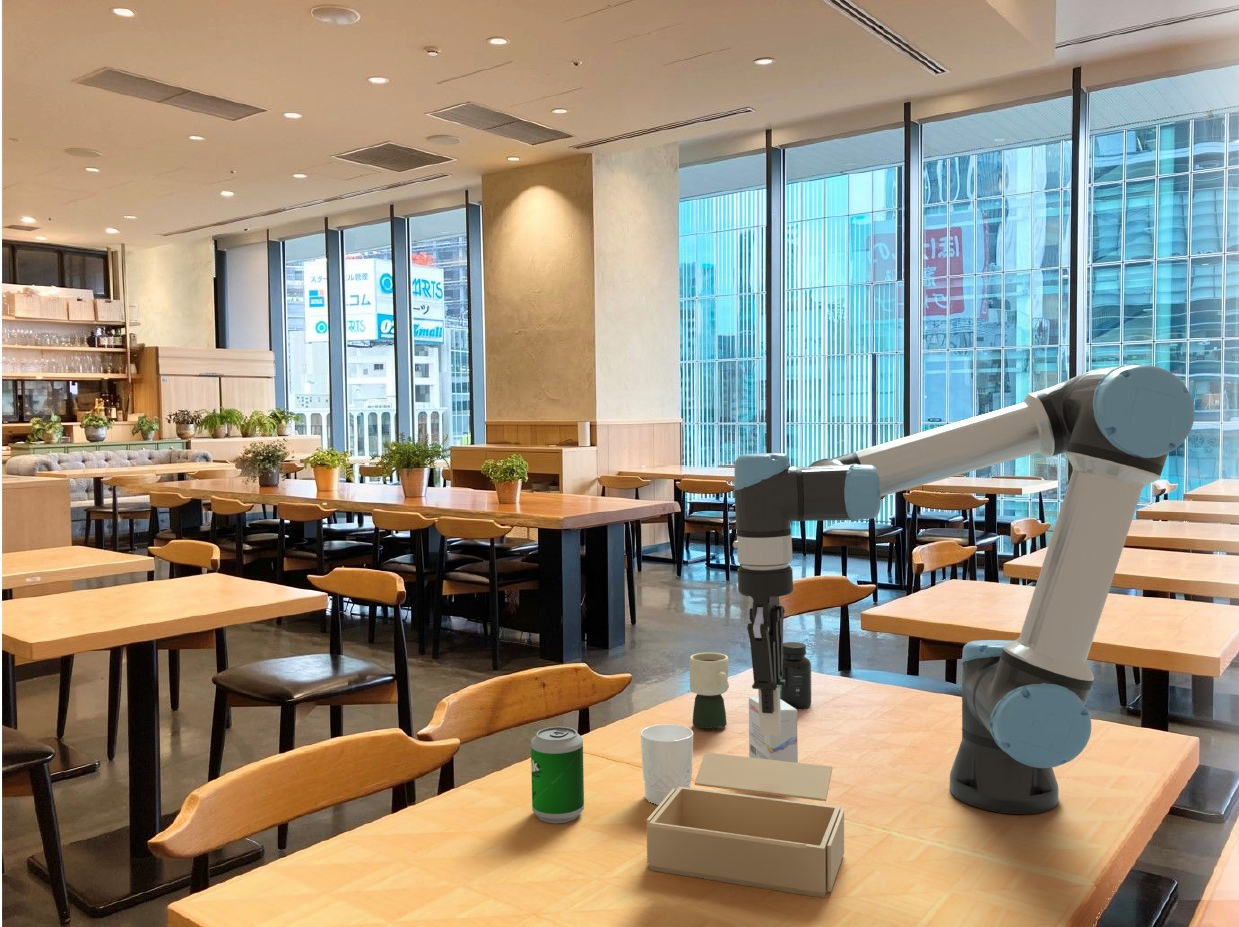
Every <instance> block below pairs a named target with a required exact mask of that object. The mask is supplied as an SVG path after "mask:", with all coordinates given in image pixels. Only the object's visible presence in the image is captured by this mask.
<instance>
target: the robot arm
mask: <svg viewBox="0 0 1239 927" xmlns="http://www.w3.org/2000/svg"><path fill="white" fill-rule="evenodd" d="M1194 421H1195V405H1194V400H1193V396H1192V395H1191V392H1190V391H1189V390H1188V388H1187V386H1186V385H1185V384H1184V382H1183V381H1182V380H1181V379H1180V378H1179V377H1178V376H1177V375H1176V374H1174V373H1172V372H1171V371H1169V370H1167V369H1165V368H1163V367H1159V366H1157V365H1156V366H1155V365H1149V364H1141V363H1136V362H1135V363H1127V364H1121V365H1119V366H1112V367H1100V368H1095V369H1092V370H1089V371H1087V372H1084V373H1081V374H1078V375H1076V376H1074V377H1072V378H1070V379H1067V380H1065V381H1063V382H1060V383H1057V384H1055V385H1052V386H1048V387H1046V388H1044V389H1041V390H1037V391H1034V392H1030V393H1028V394H1026V396H1025V398H1024V400H1023V401H1022V402H1021V403H1018V404H1014V405H1011V406H1007V407H1004V408H1000V409H998V410H997V409H996V410H994V411H990V412H988V413H983V414H980V415H977V416H972V417H970V418H967V419H966V418H965V419H963V420H959V421H955V422H952V423H949V424H945V425H942V426H939V427H938V426H937V427H935V428H931V429H928V430H925V431H924V430H923V431H921V432H917V433H915V434H910V435H908V436H904V437H900V438H898V439H894V440H891V441H887V442H884V443H880V444H877V445H872V446H869V447H867V448H862V449H859V450H856V451H854V452H851V453H846V454H841V455H839V456H836V457H832V458H821V459H818V460H815V461H813V462H812V463H811V464H810V465H808V466H795V465H793V466H792V465H791V463H790V460H789V456H788V454H786V453H784V452H773V453H772V452H769V453H767V452H764V453H762V452H760V453H746V454H742V455H739V456H738V457H737V459H736V460H735V461H734V480H733V481H734V483H733V486H734V488H733V490H734V509H735V510H734V511H735V513H734V514H735V528H736V530H735V531H736V540H734V541H733V543H732V547H733V548H736V549H737V551H736V552H737V553H736V554H737V555H736V556H737V563H738V564H740V565H741V566H739V567H738V568H737V588H738V593H739V594H741V595H742V596H743V597H750V598H751V599H752V608H749V611H748V612H749V621H750V622H749V623H748V624H747V627H746V629H747V633H748V637H749V644H750V646H749V647H750V653H751V654H750V655H751V664H752V674H753V684H752V685H751V688H752V689H753V690H758V691H757V692H758V697H759V721H760V734H761V735H774V736H780V734H781V706H780V687H779V686H777V685H785V682H786V680H781V679H780V677H782V676H783V643H784V617H785V613H786V612H785V611H786V609H785V608H784V606H783V605H780V597H785V596H788V595H791V593H792V592H793V591H794V581H793V580H794V577H793V576H794V574H793V572H794V571H793V568H792V567H791V566H790V565H789V564H791V562H793V561H794V559H793V542H792V541H793V540H792V528H791V525H792V522H806V521H809V522H811V521H813V522H815V521H817V522H818V521H819V522H820V521H851V522H857V521H858V520H869V519H870V520H871V519H875V518H876V517H877V516H878V515H879V513H880V512H881V511H880V510H881V503H882V502H881V501H882V500H881V499H882V497H884V496H887V495H892V494H895V493H898V492H902V491H903V492H904V491H905V490H909V489H913V488H916V487H920V486H924V485H928V484H932V483H934V482H938V481H942V480H945V479H949V478H953V477H956V476H960V475H963V474H967V473H970V472H973V471H978V470H982V469H984V468H989V467H993V466H996V465H1000V464H1002V463H1007V462H1010V461H1013V460H1017V459H1021V458H1025V457H1028V456H1032V455H1035V454H1040V455H1042V456H1043V457H1044V456H1045V457H1046V458H1051V457H1055V456H1057V455H1061V454H1064V455H1065V456H1066V458H1067V459H1068V461H1069V463H1070V465H1071V467H1072V472H1071V475H1070V479H1069V482H1068V485H1067V488H1066V491H1065V494H1064V496H1063V500H1062V503H1061V506H1060V508H1059V509H1060V510H1059V513H1058V515H1057V518H1056V522H1055V525H1054V527H1053V531H1052V533H1051V534H1052V535H1051V537H1050V541H1049V544H1048V547H1047V549H1046V553H1045V556H1044V559H1043V563H1042V566H1041V568H1040V569H1041V570H1040V572H1039V575H1038V579H1037V581H1036V585H1035V586H1034V590H1033V593H1032V597H1031V600H1030V604H1029V607H1028V608H1027V609H1028V610H1027V612H1026V615H1025V619H1024V621H1023V625H1022V628H1021V631H1020V635H1019V637H1018V638H1017V639H1015V640H1010V639H1009V640H1005V639H1002V640H1001V639H988V640H987V639H985V640H984V639H983V640H982V639H981V640H972V641H969V642H966V643H965V645H964V646H963V648H962V657H961V660H960V665H961V730H962V731H961V742H960V744H959V747H958V750H957V753H956V755H955V759H954V761H953V764H952V766H951V769H950V771H949V772H950V773H949V791H950V793H951V794H952V795H953V797H955V798H956V799H957V800H959V801H960V802H963V803H965V804H967V805H969V806H972V807H974V808H977V809H980V810H981V809H982V810H985V811H990V812H995V813H1002V814H1010V815H1031V814H1040V813H1044V812H1045V813H1046V812H1048V811H1051V810H1053V809H1054V808H1056V806H1058V803H1059V784H1058V781H1057V778H1056V774H1055V772H1054V769H1053V768H1056V767H1060V766H1062V765H1064V764H1067V763H1069V762H1071V761H1073V760H1074V759H1076V758H1077V757H1078V756H1079V755H1080V754H1081V753H1082V752H1083V751H1084V750H1085V748H1086V747H1087V745H1088V743H1089V741H1090V738H1091V735H1092V734H1091V733H1092V719H1091V714H1090V711H1089V708H1088V707H1087V701H1088V699H1089V696H1090V694H1091V690H1092V686H1093V683H1094V680H1095V675H1094V673H1093V672H1092V671H1091V669H1090V666H1089V665H1088V661H1087V659H1088V657H1089V653H1090V650H1091V647H1092V644H1093V641H1094V638H1095V636H1096V631H1097V629H1098V626H1099V622H1100V619H1101V616H1102V613H1103V611H1104V607H1105V604H1106V602H1107V598H1108V595H1109V592H1110V589H1111V586H1112V582H1113V581H1114V580H1113V579H1114V577H1115V574H1116V571H1117V567H1118V565H1119V561H1120V558H1121V556H1122V554H1123V553H1122V552H1123V549H1124V547H1125V543H1126V540H1127V536H1128V534H1129V531H1130V528H1131V524H1132V523H1133V518H1134V515H1135V512H1136V510H1137V507H1138V503H1139V502H1140V501H1139V500H1140V497H1141V494H1142V491H1143V490H1144V488H1145V487H1146V486H1148V485H1149V484H1151V483H1154V482H1156V481H1158V480H1160V479H1161V476H1162V473H1163V470H1164V467H1165V465H1166V460H1167V458H1168V455H1169V453H1172V452H1174V450H1176V449H1177V448H1178V447H1180V446H1181V445H1182V444H1183V443H1184V442H1185V440H1186V439H1187V438H1188V437H1189V435H1190V433H1191V430H1192V427H1193V426H1194Z"/></svg>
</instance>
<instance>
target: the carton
mask: <svg viewBox="0 0 1239 927" xmlns="http://www.w3.org/2000/svg"><path fill="white" fill-rule="evenodd" d="M647 823H656V824H665V825H672V826H679V827H686V828H693V829H700V830H708V831H715V832H722V833H729V834H736V835H743V836H750V837H757V838H764V839H771V840H778V841H785V842H792V843H799V844H806V848H796V847H789V846H782V845H775V844H768V843H761V842H754V841H747V840H740V839H733V838H726V837H719V836H712V835H705V834H698V833H691V832H684V831H677V830H670V829H663V828H656V827H649V826H647V825H646V862H647V864H648V869H649V870H648V871H652V872H659V873H666V874H671V875H678V876H684V877H689V878H697V877H698V878H697V879H702V878H704V879H703V880H709V881H716V882H723V883H728V884H733V885H735V884H736V885H741V886H747V887H753V888H759V889H766V890H772V891H776V892H777V891H778V892H784V893H791V894H796V895H801V896H803V895H804V896H809V897H815V898H823V899H826V895H827V892H830V893H831V892H832V890H833V887H834V884H835V880H836V878H837V875H838V872H839V869H840V866H841V863H842V861H843V857H844V854H845V810H844V809H841V806H837V805H836V806H835V805H829V804H820V803H813V802H806V801H799V800H798V801H797V800H789V799H781V798H773V797H772V798H771V797H764V796H759V795H758V796H757V795H749V794H740V793H733V792H727V791H717V790H711V789H710V790H708V789H704V788H703V789H701V788H693V787H690V788H687V787H678V789H677V790H676V789H672V790H671V791H670V793H669V794H668V795H667V796H666V797H665V799H664V800H663V801H662V802H661V803H660V805H657V807H655V809H654V811H652V813H651V814H650V815H649V817H647V819H646V824H647Z"/></svg>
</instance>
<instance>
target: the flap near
mask: <svg viewBox="0 0 1239 927" xmlns="http://www.w3.org/2000/svg"><path fill="white" fill-rule="evenodd" d="M647 826H649V827H656V828H663V829H670V830H677V831H684V832H691V833H698V834H705V835H712V836H719V837H726V838H733V839H740V840H747V841H754V842H761V843H768V844H775V845H782V846H789V847H796V848H806V844H799V843H792V842H785V841H778V840H771V839H764V838H757V837H750V836H743V835H736V834H729V833H722V832H715V831H708V830H700V829H693V828H686V827H679V826H672V825H665V824H656V823H647V822H646V827H647Z"/></svg>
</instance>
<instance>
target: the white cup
mask: <svg viewBox="0 0 1239 927" xmlns="http://www.w3.org/2000/svg"><path fill="white" fill-rule="evenodd" d="M640 745H641V763H642V764H641V765H642V774H643V775H642V776H643V780H644V795H645V796H644V797H645V799H646V800H647V802H648V803H650V802H651V803H650V804H652V803H654V804H653V805H655V804H656V806H659V805H660V803H661V802H662V801H663V800H664V799H665V797H666V796H667V795H668V794H669V793H670V791H671V790H672V789H676V790H677V789H678V787H687V788H691V785H692V784H691V782H692V778H693V777H692V774H693V756H694V754H693V753H694V751H693V750H694V731H693V730H692V729H691V728H689V727H687V726H684V725H679V724H672V723H671V724H670V723H668V724H667V723H666V724H665V723H664V724H654V725H649V726H647V727H645V728H643V729H641V730H640Z"/></svg>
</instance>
